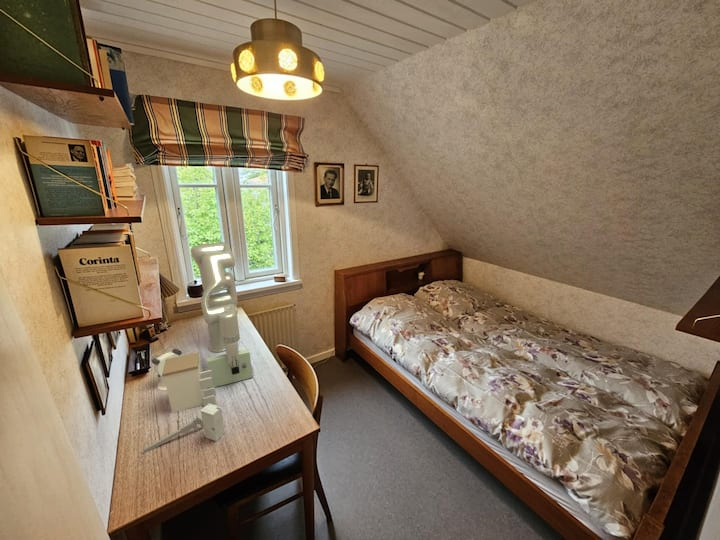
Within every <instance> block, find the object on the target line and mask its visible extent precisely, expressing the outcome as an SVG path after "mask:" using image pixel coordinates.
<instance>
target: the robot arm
mask: <svg viewBox="0 0 720 540" xmlns="http://www.w3.org/2000/svg"><path fill="white" fill-rule="evenodd" d="M190 254H191V257H192V259H193V261H194V262H195V264H196V265H197V267H198V269H199V275H200V280H201V286H202V289H203V291H204V292H203V294H202V297H201V299H200V306H201V310H202V315H203V319H204V322H205V323H206V325H207V327H208V332H209V338H210V344H209V345H208V351H210V352H212V353H222V352H223V353H224V352H225V354H226V355H227V362H228V364H231V365H232V367H231V369H232V375H234V374H238V373H240V372H239V365H238V362H239V351H240V350H239V343H238V342H239V341H240V339H241V336H240V329H239V321H238V312H239V311H238V308H237V306H238V302H239V301H238V300H239V299H238V293H237V289H236V288H237V287H236V283H235V278H234V275H233V273H231V272H229V271H227V272H226V271H225V269H231V268H234V266H235V265H236V260H235V256H234V254H233V252H232V250H231V248H230V245H229V244H228V243H227V242H224V241H223V242H213V243H204V244H197V245H194V246H193V247H191V248H190ZM223 291H224V292H223ZM216 292H217V293H216ZM232 363H233V364H232ZM236 363H237V364H236Z"/></svg>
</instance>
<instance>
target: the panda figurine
mask: <svg viewBox="0 0 720 540" xmlns="http://www.w3.org/2000/svg"><path fill="white" fill-rule="evenodd" d="M179 356H182V351H181V350H180V349H177V348H173V349H172V351H169V352H166V353H164V354H161V355H160V356H158V357H157V358H156V357H155V358H154V357H153V358H152V359H151V363H152V364H153V370H154V372H155V374H157V377H158V378H159V379H160V381H158V383H157V389H158V390H159V391H162V392H167V389H166V384H165V380H164V377H163V376H162V372H163V368H164V364H165V360H166V359H170V358H175V357H179Z"/></svg>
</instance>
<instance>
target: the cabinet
mask: <svg viewBox="0 0 720 540" xmlns="http://www.w3.org/2000/svg"><path fill="white" fill-rule="evenodd" d="M162 376H163V377H164V380H165V384H166V389H167V391H166V393H167V397H168V401H169V405H170V409H171V413H172V414H174V413H177V412H180V411H186V410H188V409H193V408H196V407H200V406H203V408H204V407H205V406H207V405H208V404H209V403H210V404H212V405H216V404H217V402H216V395H217V394H216V389H215V388H216V387H212V386H213V383H212V379H213V376H212V371H211V370H208V369H207V370H204V371H202V367H201V363H200V353H199V352H195V353H190V354H185V355H179V357H175V358H170V359H166V360H165V364H164V368H163V372H162ZM211 387H212V388H211Z"/></svg>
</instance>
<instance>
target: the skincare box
mask: <svg viewBox="0 0 720 540" xmlns="http://www.w3.org/2000/svg"><path fill="white" fill-rule="evenodd" d="M222 410H223V409H222V407H221V406H218V405H216V404H213V405H212V404H210V403H209V404H208V405H207V406H205V407H204V406H203V408H202V409H201V410H200V414H201V420H202V422H203V433H204V434H203V435H204V437H205V438H207V439H209V440H211V441H215V442H217V441H218V440H219V439H220V438H221V437H222V436H223V435H224V434H225V429H224V428H225V427H224V420H223V412H222Z"/></svg>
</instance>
